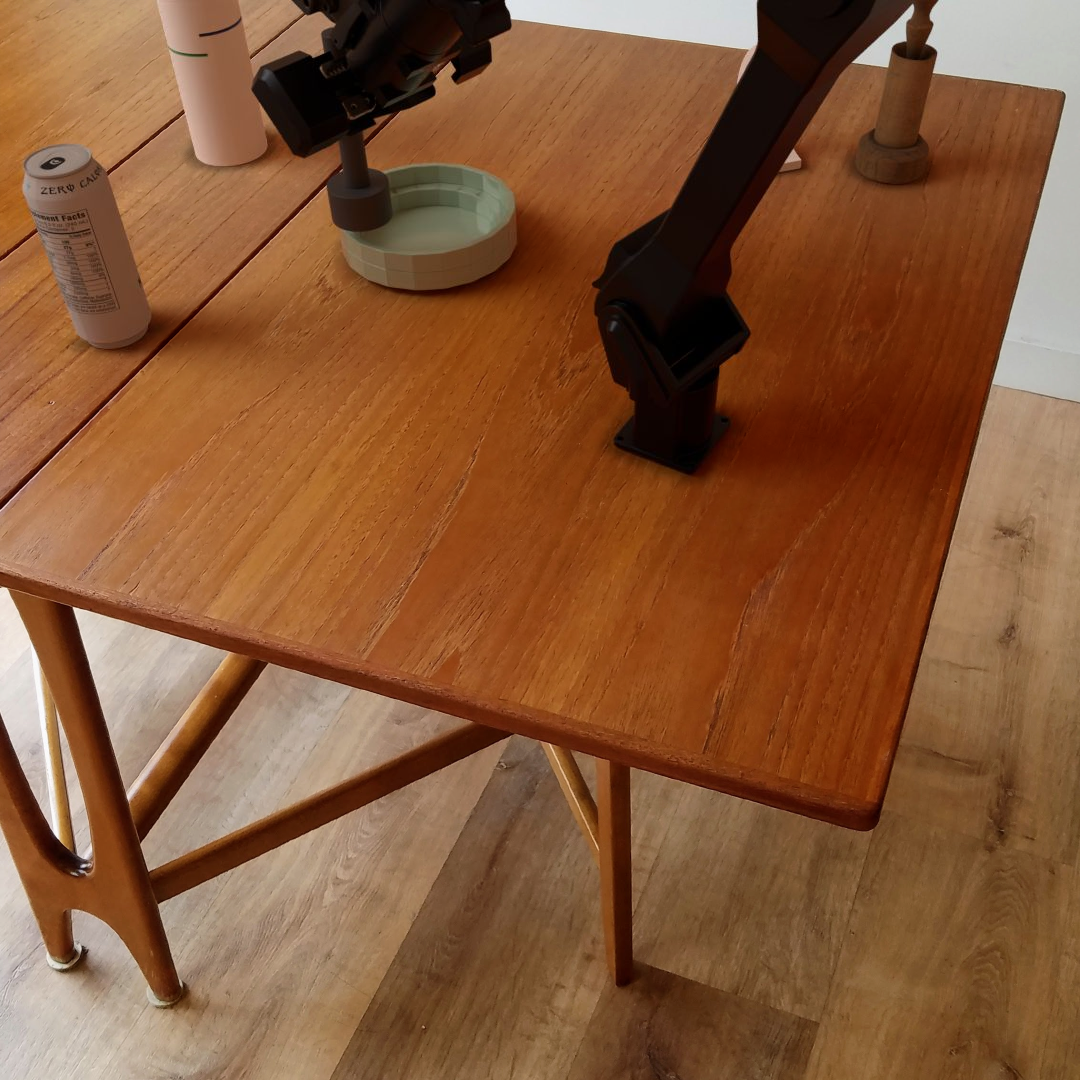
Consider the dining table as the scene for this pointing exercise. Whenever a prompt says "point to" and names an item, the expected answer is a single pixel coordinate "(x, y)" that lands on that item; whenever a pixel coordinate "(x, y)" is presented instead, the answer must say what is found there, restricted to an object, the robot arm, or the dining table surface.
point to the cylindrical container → (214, 79)
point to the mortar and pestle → (902, 107)
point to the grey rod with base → (356, 179)
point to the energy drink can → (86, 244)
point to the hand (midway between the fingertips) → (338, 123)
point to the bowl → (437, 229)
